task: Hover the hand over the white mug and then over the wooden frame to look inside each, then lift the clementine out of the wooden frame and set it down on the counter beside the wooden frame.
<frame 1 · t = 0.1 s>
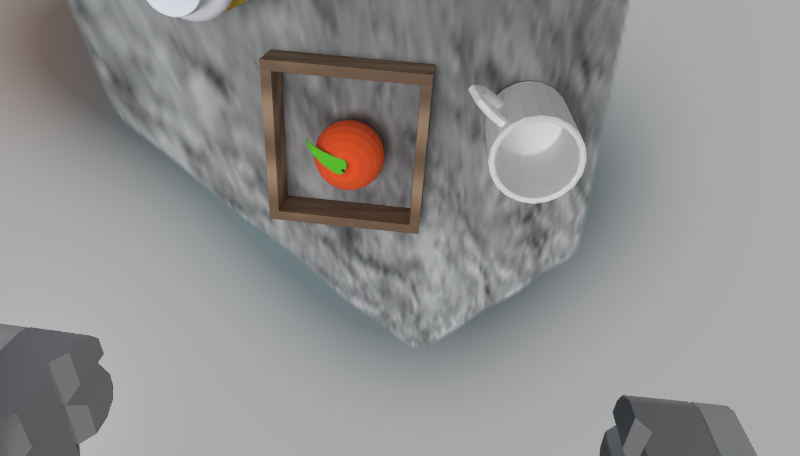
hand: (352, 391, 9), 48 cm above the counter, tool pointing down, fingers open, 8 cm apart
wooden frame: (350, 139, 58), on the counter
mug: (512, 106, 55), on the counter
clementine: (351, 138, 59), resting in wooden frame
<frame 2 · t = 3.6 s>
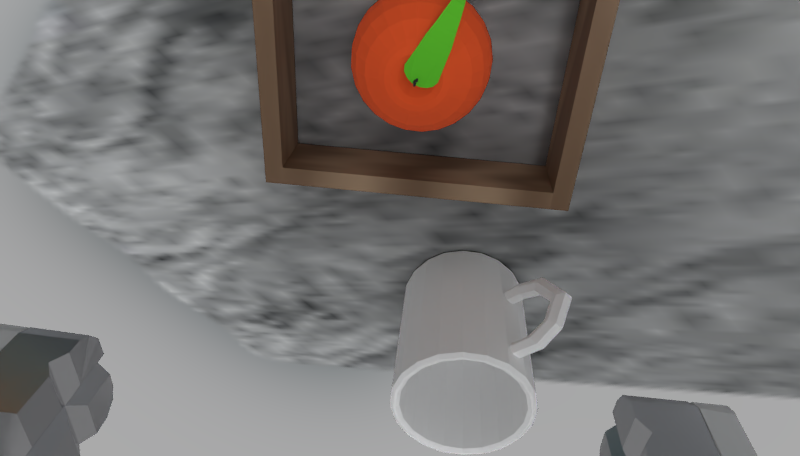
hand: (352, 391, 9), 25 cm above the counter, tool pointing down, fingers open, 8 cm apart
wooden frame: (430, 35, 30), on the counter
mug: (483, 280, 39), on the counter
clementine: (430, 34, 30), resting in wooden frame
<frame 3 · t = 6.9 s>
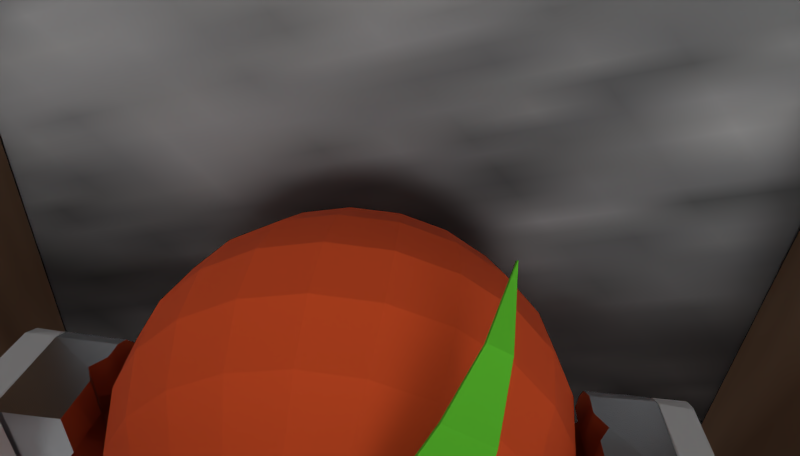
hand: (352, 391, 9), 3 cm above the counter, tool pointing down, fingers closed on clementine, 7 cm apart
wooden frame: (382, 274, 12), on the counter
clementine: (389, 269, 12), resting in wooden frame, touching gripper
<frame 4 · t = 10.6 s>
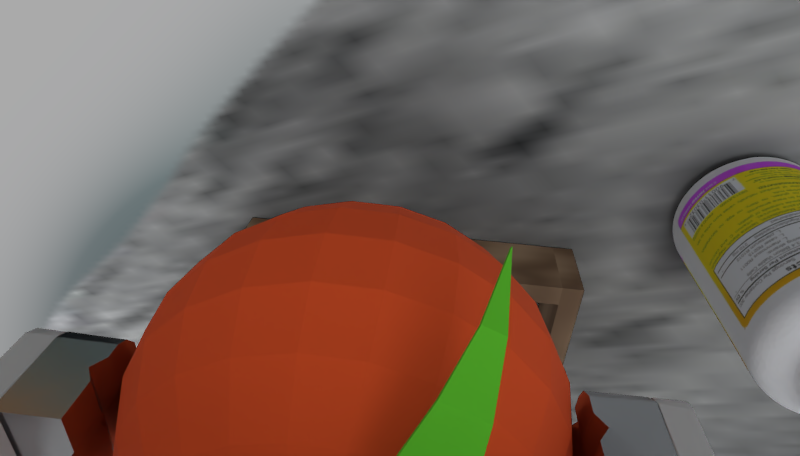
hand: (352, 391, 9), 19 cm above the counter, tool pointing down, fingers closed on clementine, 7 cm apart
wooden frame: (401, 345, 34), on the counter
clementine: (391, 263, 12), point 15 cm above the counter, touching gripper
supplement bottle: (738, 211, 28), on the counter
when the fingers open (4 cm above the counter, at t = 14.4 s): clementine stays where it is, on the counter.
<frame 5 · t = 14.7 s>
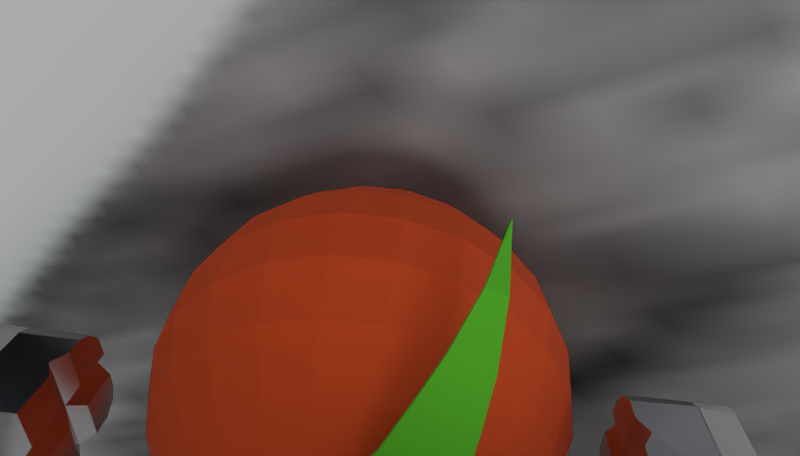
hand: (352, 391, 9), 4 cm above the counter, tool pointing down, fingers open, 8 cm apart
clementine: (398, 247, 13), on the counter
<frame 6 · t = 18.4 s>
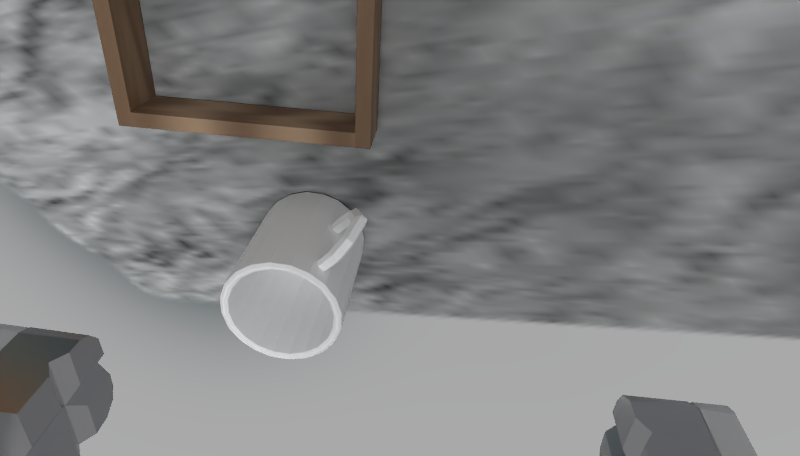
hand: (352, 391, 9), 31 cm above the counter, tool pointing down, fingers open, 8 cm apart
mug: (329, 219, 44), on the counter
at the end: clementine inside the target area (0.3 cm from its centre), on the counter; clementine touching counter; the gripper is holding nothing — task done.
